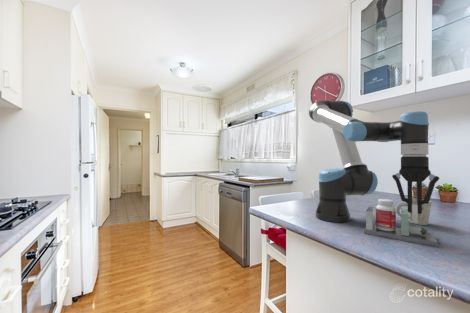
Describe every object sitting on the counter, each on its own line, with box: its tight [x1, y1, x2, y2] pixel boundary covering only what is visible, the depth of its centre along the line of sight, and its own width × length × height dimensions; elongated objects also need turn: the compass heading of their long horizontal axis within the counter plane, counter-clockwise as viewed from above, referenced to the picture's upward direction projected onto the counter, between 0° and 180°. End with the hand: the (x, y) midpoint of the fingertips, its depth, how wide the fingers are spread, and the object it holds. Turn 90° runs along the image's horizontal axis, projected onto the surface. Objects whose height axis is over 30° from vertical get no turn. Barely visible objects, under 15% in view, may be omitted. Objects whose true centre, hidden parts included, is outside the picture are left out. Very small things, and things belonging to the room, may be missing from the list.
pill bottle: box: [375, 198, 397, 232], centre depth 80 cm, size 6×6×11 cm
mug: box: [395, 197, 432, 226], centre depth 92 cm, size 8×13×10 cm, turn 78°
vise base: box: [364, 206, 438, 248], centre depth 78 cm, size 20×10×8 cm, turn 52°
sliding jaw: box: [400, 208, 428, 236], centre depth 75 cm, size 7×9×8 cm
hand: (414, 222), depth 75 cm, fingers closed
